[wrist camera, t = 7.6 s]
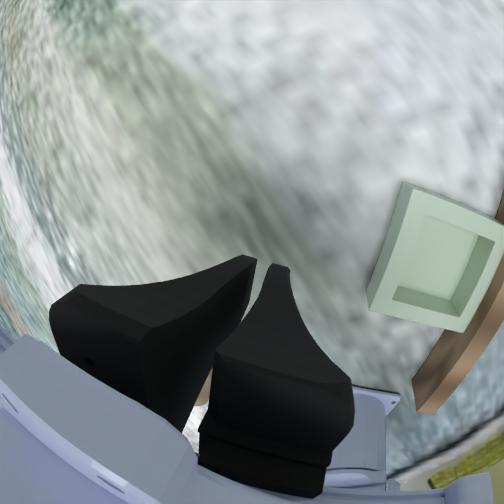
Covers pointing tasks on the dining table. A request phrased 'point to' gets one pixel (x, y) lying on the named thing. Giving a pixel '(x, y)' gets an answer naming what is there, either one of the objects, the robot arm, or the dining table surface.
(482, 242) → the holder
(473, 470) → the dining table surface
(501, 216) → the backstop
